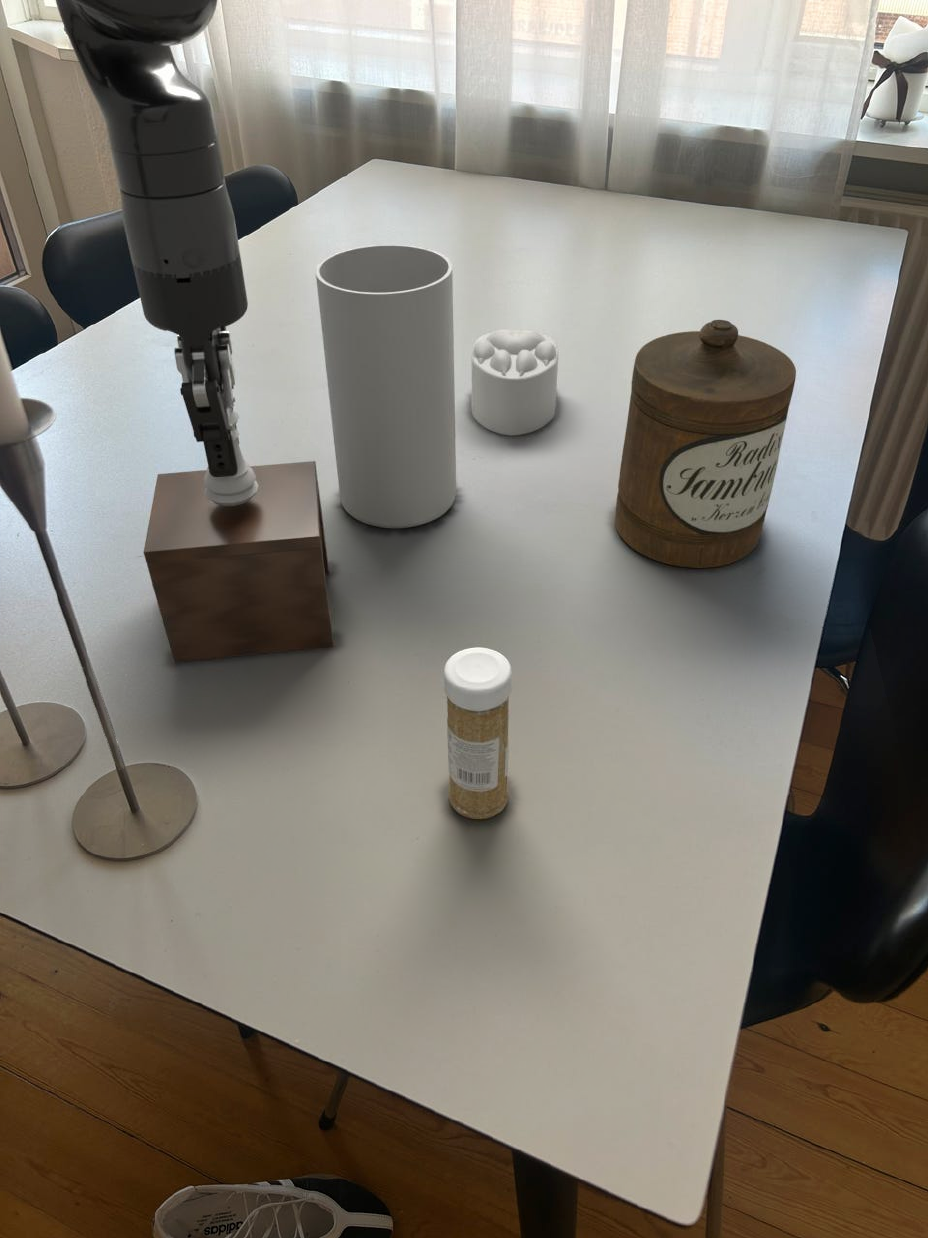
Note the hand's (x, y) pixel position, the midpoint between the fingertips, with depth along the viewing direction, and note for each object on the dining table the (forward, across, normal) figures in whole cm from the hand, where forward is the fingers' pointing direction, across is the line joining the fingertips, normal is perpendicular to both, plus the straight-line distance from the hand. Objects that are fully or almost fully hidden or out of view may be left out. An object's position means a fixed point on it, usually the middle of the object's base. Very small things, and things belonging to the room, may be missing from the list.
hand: (225, 461), depth 79 cm
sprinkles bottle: (+16, +25, +17) cm, 34 cm away
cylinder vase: (+16, -17, +15) cm, 28 cm away
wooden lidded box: (+16, 0, 0) cm, 16 cm away
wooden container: (+16, -7, +44) cm, 48 cm away
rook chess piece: (+3, 0, 0) cm, 3 cm away
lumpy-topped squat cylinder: (+16, -35, +31) cm, 50 cm away
